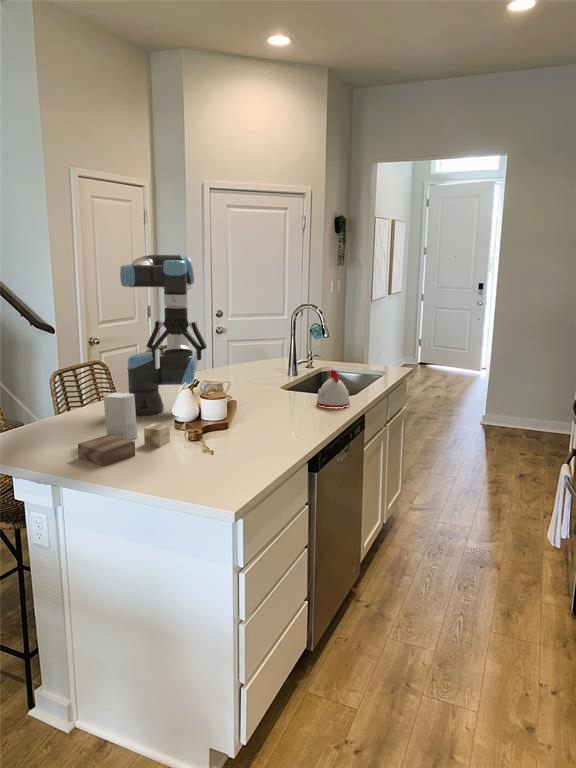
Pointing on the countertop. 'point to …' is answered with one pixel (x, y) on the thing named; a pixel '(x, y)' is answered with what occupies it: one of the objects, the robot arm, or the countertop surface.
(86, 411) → the countertop surface
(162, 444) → the oak cube
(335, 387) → the kitchen timer
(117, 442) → the walnut pedestal
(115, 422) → the skincare box
